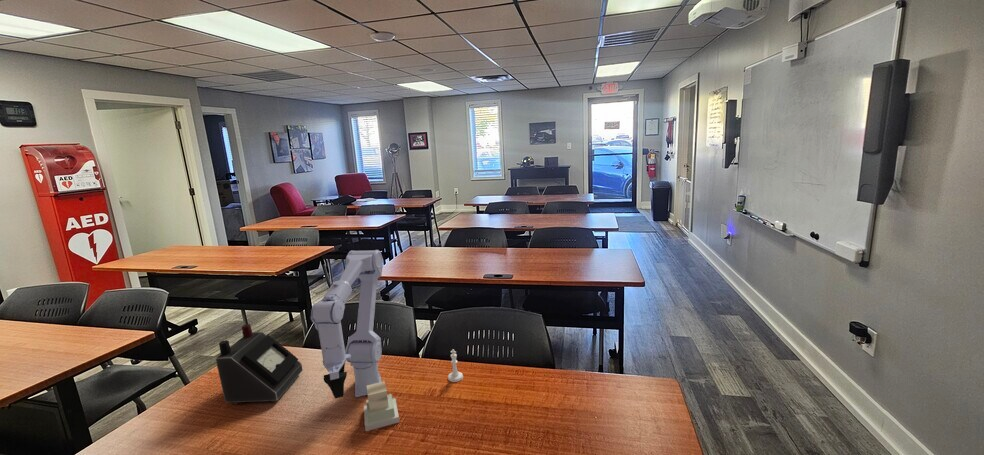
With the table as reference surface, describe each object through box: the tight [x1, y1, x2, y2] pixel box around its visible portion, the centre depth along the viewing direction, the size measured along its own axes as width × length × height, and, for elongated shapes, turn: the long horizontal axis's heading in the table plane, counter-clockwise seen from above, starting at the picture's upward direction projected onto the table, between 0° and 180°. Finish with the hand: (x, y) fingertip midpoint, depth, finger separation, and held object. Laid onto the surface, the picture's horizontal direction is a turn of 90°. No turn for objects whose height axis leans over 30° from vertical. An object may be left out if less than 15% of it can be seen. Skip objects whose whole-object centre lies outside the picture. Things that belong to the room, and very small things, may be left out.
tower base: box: [363, 397, 400, 432], centre depth 114 cm, size 9×9×2 cm
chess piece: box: [447, 348, 464, 383], centre depth 129 cm, size 5×5×10 cm
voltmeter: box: [214, 323, 304, 404], centre depth 128 cm, size 16×16×20 cm
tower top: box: [365, 393, 395, 423], centre depth 113 cm, size 7×7×2 cm
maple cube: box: [367, 380, 389, 412], centre depth 112 cm, size 5×5×5 cm
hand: (339, 388), depth 110 cm, fingers open, 7 cm apart
